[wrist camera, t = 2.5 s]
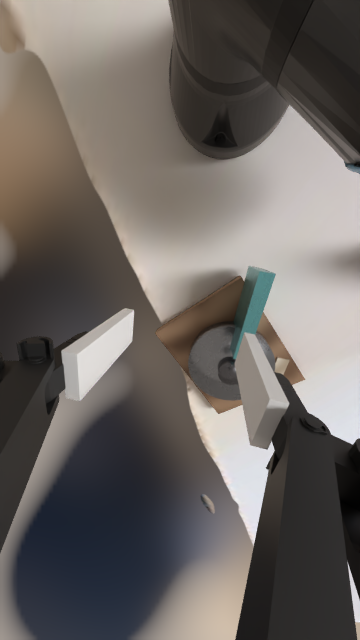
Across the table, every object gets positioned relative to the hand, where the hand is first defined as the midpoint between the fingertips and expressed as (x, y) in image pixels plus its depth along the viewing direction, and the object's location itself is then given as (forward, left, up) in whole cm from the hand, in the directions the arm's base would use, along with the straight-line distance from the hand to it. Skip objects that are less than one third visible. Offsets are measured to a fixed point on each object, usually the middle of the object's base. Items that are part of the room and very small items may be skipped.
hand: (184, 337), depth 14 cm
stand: (+13, -3, -20) cm, 24 cm away
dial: (+10, +1, -18) cm, 20 cm away
